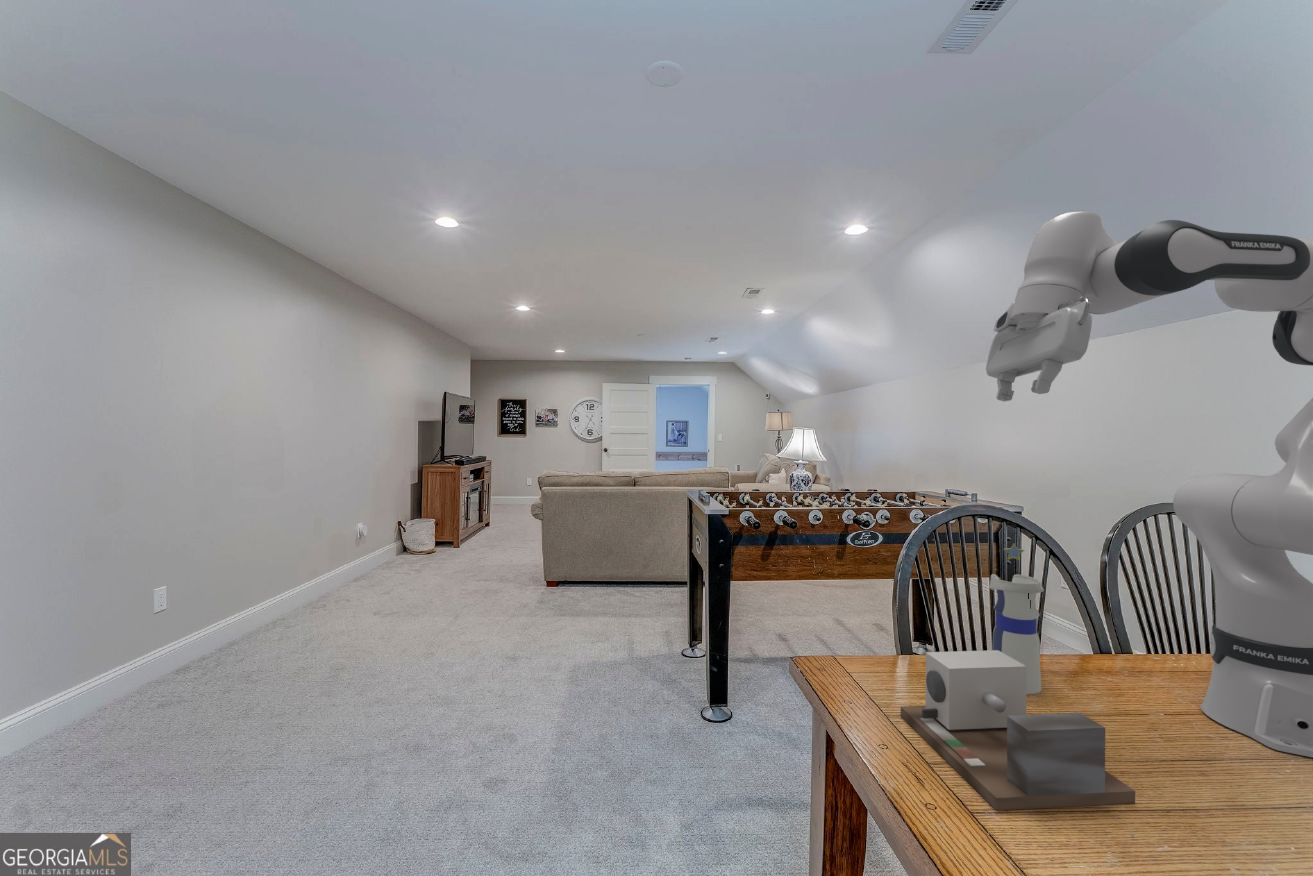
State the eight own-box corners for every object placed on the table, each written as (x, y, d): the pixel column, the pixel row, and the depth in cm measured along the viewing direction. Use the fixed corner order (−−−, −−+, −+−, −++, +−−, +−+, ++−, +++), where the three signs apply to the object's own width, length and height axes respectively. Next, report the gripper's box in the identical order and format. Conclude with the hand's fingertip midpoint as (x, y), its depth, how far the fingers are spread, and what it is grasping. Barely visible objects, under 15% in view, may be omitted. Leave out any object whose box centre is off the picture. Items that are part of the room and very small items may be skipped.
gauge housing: (912, 709, 85) (912, 652, 85) (997, 706, 86) (997, 650, 86) (944, 740, 77) (945, 676, 77) (1039, 736, 78) (1039, 673, 78)
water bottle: (977, 673, 103) (978, 542, 103) (1023, 674, 103) (1024, 542, 102) (1003, 693, 95) (1004, 551, 94) (1053, 694, 94) (1054, 552, 94)
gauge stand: (900, 715, 87) (900, 657, 87) (1006, 711, 88) (1006, 654, 88) (996, 810, 65) (996, 732, 65) (1135, 803, 67) (1135, 726, 66)
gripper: (1115, 298, 75) (1088, 393, 74) (1026, 334, 95) (1004, 409, 95) (1069, 286, 75) (1042, 381, 75) (989, 324, 96) (968, 398, 95)
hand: (1020, 396), depth 85 cm, fingers open, 8 cm apart
